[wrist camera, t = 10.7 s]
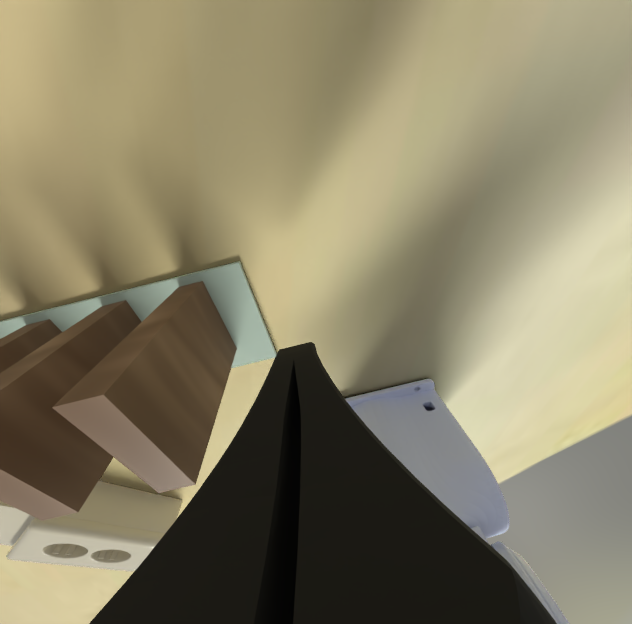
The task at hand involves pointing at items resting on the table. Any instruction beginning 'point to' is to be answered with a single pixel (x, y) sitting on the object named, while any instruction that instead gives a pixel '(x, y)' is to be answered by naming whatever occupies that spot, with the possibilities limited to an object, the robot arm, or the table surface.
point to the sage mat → (220, 282)
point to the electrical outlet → (92, 530)
